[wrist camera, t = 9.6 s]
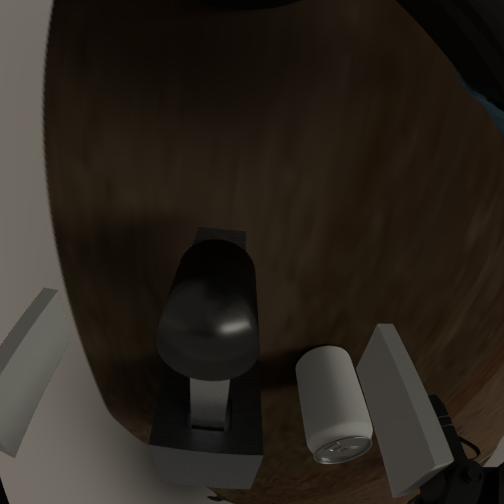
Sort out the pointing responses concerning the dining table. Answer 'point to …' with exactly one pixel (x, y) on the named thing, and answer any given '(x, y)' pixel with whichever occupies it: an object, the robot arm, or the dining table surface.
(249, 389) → the housing
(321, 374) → the can
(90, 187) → the dining table surface
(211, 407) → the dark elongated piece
